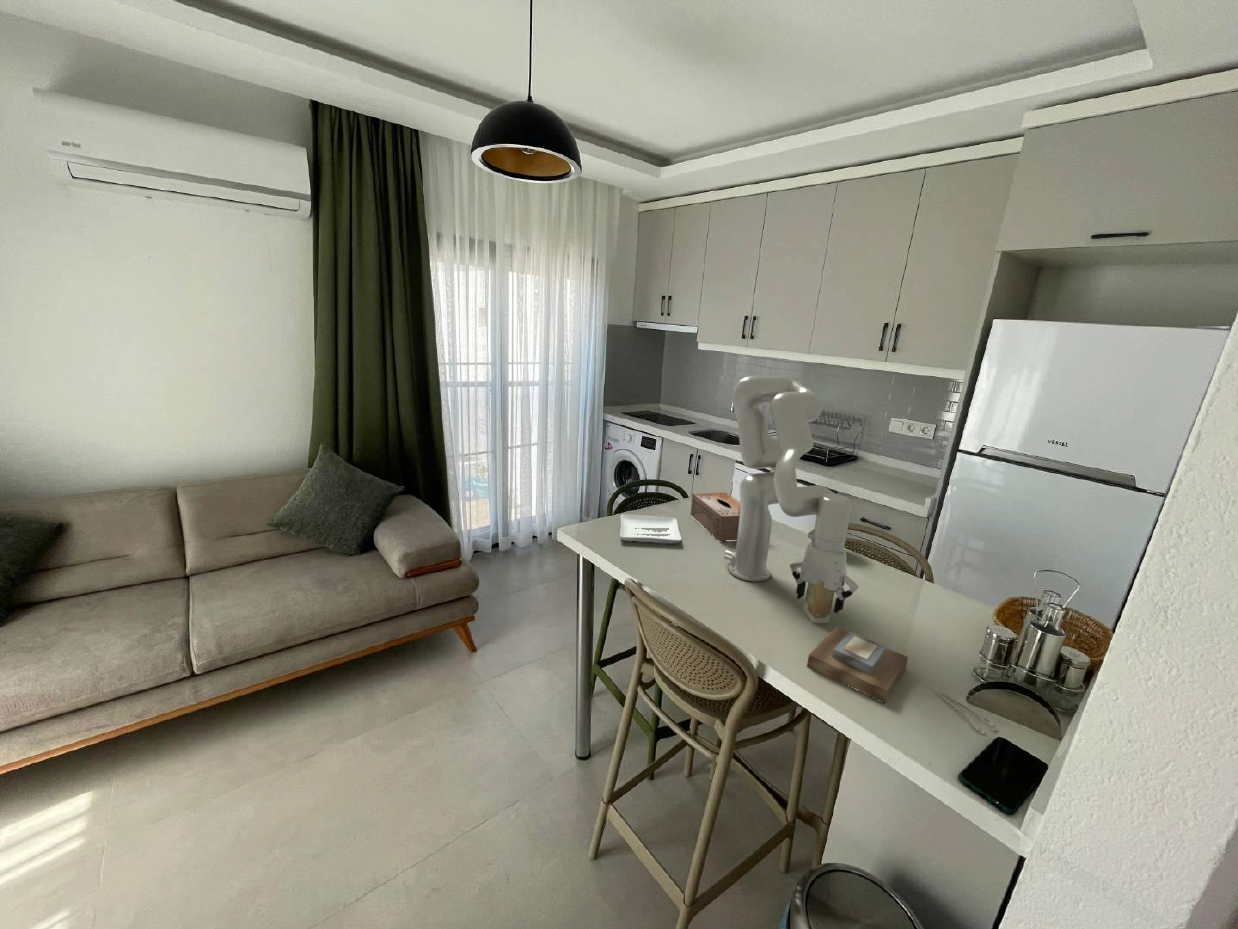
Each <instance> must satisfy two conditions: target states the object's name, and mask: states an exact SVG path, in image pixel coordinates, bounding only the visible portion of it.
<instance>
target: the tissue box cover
mask: <svg viewBox="0 0 1238 929" xmlns="http://www.w3.org/2000/svg"><path fill="white" fill-rule="evenodd" d="M691 496H692V497H691V505H690V515H692V516H693V517H694V518H695V519H696V520H697V521H699V522H700V523H701V524H702V525H703V526H704V528H706V529H707V530H708V531H709V532H710V533H711V534H713V536H714V537H715V538H716V539H717V540H719V541H726V540H737V535H738V527H739V518H740V500H738V499H737V498H735V497H734V496H732V495H730V494H729V493H728V492H725V491H724V492H695V493H694V492H693V493H692V494H691ZM715 538H714V539H715ZM716 539H715V540H716ZM717 540H716V541H717Z"/></svg>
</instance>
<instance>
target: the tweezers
mask: <svg viewBox="0 0 1238 929" xmlns="http://www.w3.org/2000/svg"><path fill="white" fill-rule="evenodd" d="M926 687H927V688H929V689H930V690H931V689H932V691H933V692H934V694H936V695H937V696H938V697H939V698H940V699H942V700H943V701H944V702H945V703H946V704H948V706H950V707H951V708H952V709H953V710H954V711H955V712H957V713H958V714H959V715H960V716H961V717H962V718H963V719H964V720H965V721H966V722H967V723H968V724H969V725H970V727H972V729H974V730H975V731H976V732H977V733H979V735H984V734H986V733H987V731H986V730H983V729H981V728H980V727H978V726H977V725H976V722H974V721H973V720H972V719H971V717H969V716H968V715H967V714H966V713H965V712H967V713H968V714H970V715H971V716H973V717H974V718H976V719H977V720H979V721H980V722H981V723H983V724H985V725H986V726H988V727H989V728H990V730H993V731H992V732H997V731H998V728H997V725H995V723H993V722H992V721H990V720H989V719H988V718H987V717H986V716H983V715H982V714H981V713H979V712H978V711H977V710H976V709H973V708H971V707H970V706H967V705H965V704H964V703H962V702H961V701H958V700H957V699H955V698H953V697H951V696H949V695H947V694H946V693H944V692H942V691H941V690H939V689H937V688H936V687H933V686H932V685H930V684H926ZM952 702H953V703H952ZM956 705H957V706H956ZM959 707H960V708H961V709H963V710H964V711H965V712H964V711H962V710H961V709H960V708H959Z"/></svg>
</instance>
